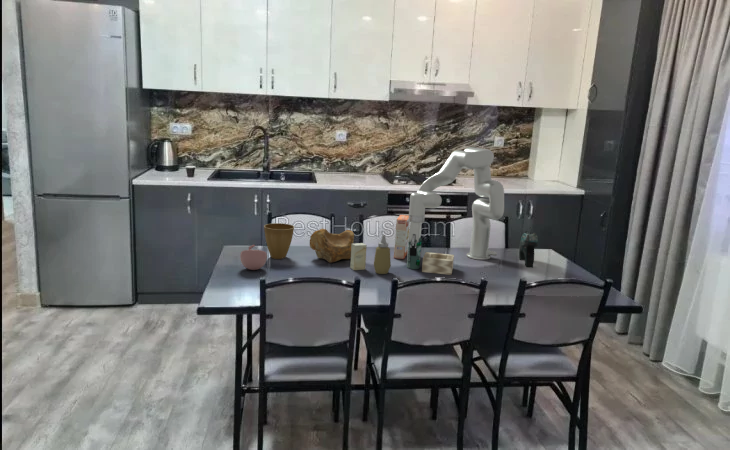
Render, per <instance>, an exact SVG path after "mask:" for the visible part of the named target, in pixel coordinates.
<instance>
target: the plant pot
mask: <svg viewBox="0 0 730 450" xmlns="http://www.w3.org/2000/svg"><path fill="white" fill-rule="evenodd" d="M263 228H264V229H263V230H264V236H265V238H264V239H265V242H266V246H267V250H268V253H269V256H270V258H271V259H276V260H282V259H283V260H284V259H286V258H287V256H288V255H287V254H288V251H289V250H290V247H291V243H292V239H293V236H294V231H295V226H294V225H293V224H289V223H282V222H281V223H279V222H278V223H275V222H273V223H267V224H264V225H263Z"/></svg>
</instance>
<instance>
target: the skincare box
mask: <svg viewBox="0 0 730 450" xmlns="http://www.w3.org/2000/svg"><path fill="white" fill-rule="evenodd" d="M366 261H367V244H366V243H364V242H360V243H359V242H358V243H357V242H355V243H354V244H352V245H351V258H350V266H349V267H350V269H351V270H353V271H361V270H366Z"/></svg>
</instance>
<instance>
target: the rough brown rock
mask: <svg viewBox="0 0 730 450" xmlns="http://www.w3.org/2000/svg"><path fill="white" fill-rule="evenodd" d="M354 239H355V232H353V231H352V230H348V229H347V230H344V231H342V232H341V233H331V232H329V231H328V230H327V229H326V228H320V229H318V230H315V231H313V233H312V234H311V235H310V238H309V247H310V249H312V250H313V251H314V252H315V255H316V257H317V258H318V259H323V260H326V262H328V263H329V264H332V263H335V262H338V261H340V260H351V245H352V244H355V243H354V242H355V240H354Z"/></svg>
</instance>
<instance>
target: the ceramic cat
mask: <svg viewBox="0 0 730 450" xmlns="http://www.w3.org/2000/svg"><path fill="white" fill-rule="evenodd" d="M529 229H530V231H532V229H533V227H532V226H530V227H529ZM538 239H539V238H538V235H537V233H536V232H533V233H532V232H529V230H526V231H525V233H522V235H521V237H520V241H519V246H518V247H519V249H518V259H519V260H520V261H524V266H525V267H526V268H534V263H535V248H537V247H538V245H539V244H538V242H539V240H538Z"/></svg>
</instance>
